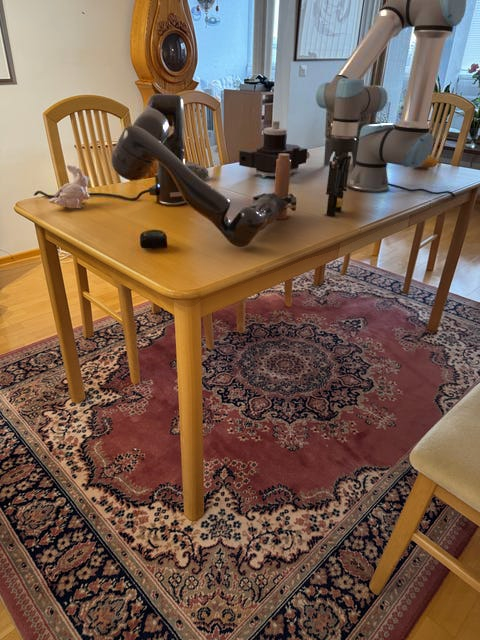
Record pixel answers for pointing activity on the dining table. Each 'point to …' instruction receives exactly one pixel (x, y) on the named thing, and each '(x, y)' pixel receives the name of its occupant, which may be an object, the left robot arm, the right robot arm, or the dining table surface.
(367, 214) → the dining table surface
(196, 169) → the rock
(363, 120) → the planter
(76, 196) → the figurine
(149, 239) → the tape measure
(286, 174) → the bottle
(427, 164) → the toy
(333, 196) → the right robot arm
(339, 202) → the lid
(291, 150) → the mechanical component
